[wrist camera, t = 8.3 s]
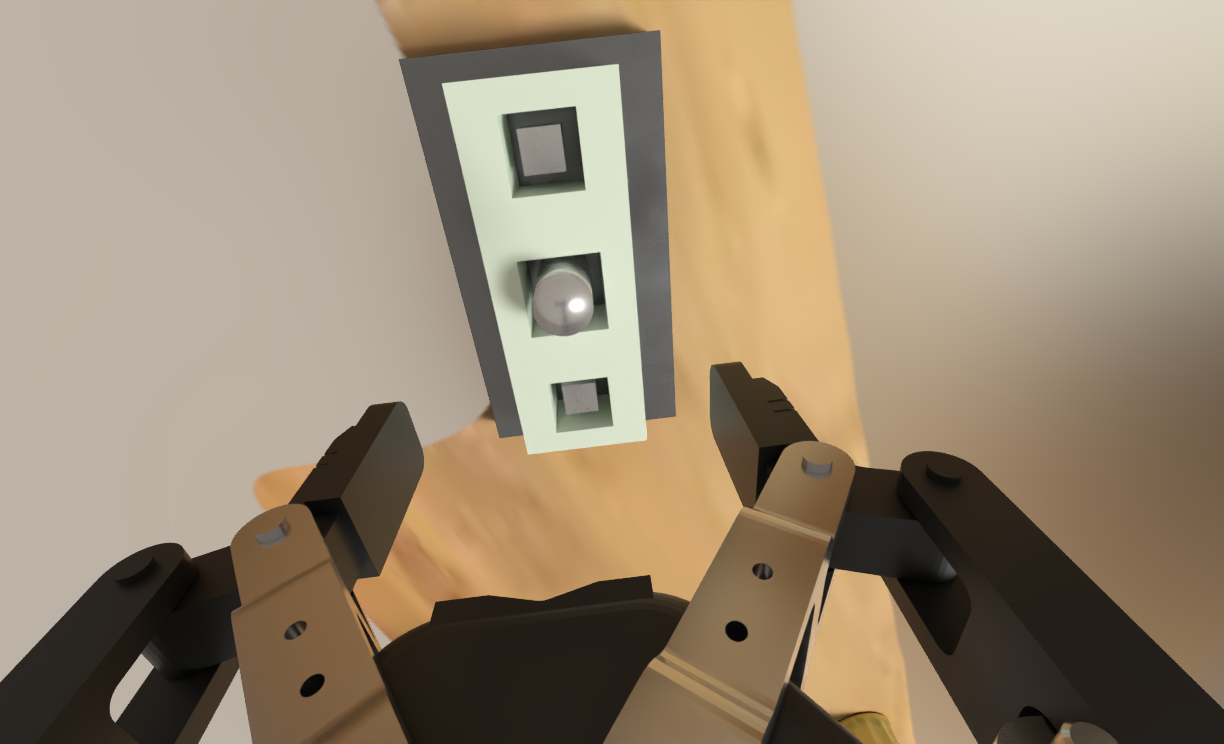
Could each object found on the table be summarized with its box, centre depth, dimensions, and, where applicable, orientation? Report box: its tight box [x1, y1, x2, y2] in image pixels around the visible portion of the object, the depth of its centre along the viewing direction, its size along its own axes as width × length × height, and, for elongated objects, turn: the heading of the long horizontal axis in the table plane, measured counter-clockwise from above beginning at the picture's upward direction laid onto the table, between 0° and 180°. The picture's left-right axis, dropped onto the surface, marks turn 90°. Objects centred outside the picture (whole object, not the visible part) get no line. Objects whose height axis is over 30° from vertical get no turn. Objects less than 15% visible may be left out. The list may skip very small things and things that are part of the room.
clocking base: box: [399, 30, 676, 438], centre depth 22 cm, size 18×10×6 cm, turn 6°
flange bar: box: [442, 64, 647, 455], centre depth 22 cm, size 16×6×3 cm, turn 5°
